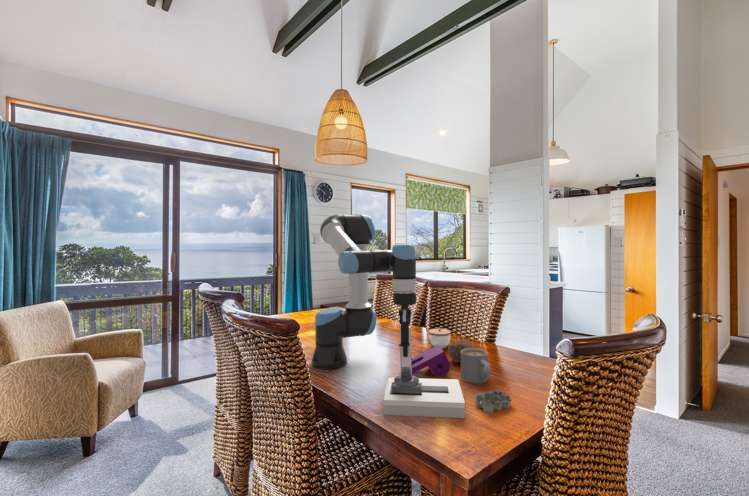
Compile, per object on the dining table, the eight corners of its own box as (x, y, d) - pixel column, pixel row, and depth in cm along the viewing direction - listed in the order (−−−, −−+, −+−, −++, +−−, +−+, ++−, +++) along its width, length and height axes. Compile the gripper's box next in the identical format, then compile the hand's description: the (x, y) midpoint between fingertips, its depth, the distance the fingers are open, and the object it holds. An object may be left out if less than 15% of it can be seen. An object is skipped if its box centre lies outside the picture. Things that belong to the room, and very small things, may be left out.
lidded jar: (426, 344, 181) (426, 325, 181) (447, 343, 182) (446, 324, 182) (432, 350, 170) (432, 331, 170) (454, 349, 172) (453, 330, 171)
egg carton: (486, 414, 107) (486, 401, 107) (471, 404, 114) (471, 391, 114) (515, 408, 110) (514, 395, 110) (498, 398, 118) (498, 386, 117)
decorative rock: (468, 369, 145) (467, 344, 145) (443, 363, 152) (442, 340, 151) (480, 360, 155) (479, 337, 155) (456, 355, 162) (455, 333, 162)
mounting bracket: (412, 392, 137) (453, 370, 138) (402, 373, 137) (443, 351, 138) (409, 382, 147) (447, 362, 147) (399, 364, 146) (438, 344, 147)
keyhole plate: (383, 414, 107) (383, 399, 107) (388, 390, 125) (388, 377, 125) (465, 418, 104) (464, 402, 104) (458, 392, 122) (458, 379, 122)
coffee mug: (456, 374, 139) (456, 349, 139) (480, 372, 141) (480, 347, 141) (471, 388, 126) (471, 360, 126) (497, 385, 127) (497, 358, 127)
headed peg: (393, 387, 112) (392, 329, 112) (395, 377, 120) (393, 324, 120) (418, 387, 111) (417, 330, 111) (418, 378, 119) (417, 324, 119)
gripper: (416, 295, 106) (417, 373, 106) (416, 288, 123) (417, 356, 123) (391, 295, 107) (392, 372, 107) (394, 288, 124) (396, 355, 124)
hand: (406, 363), depth 115 cm, fingers closed on headed peg, 3 cm apart
